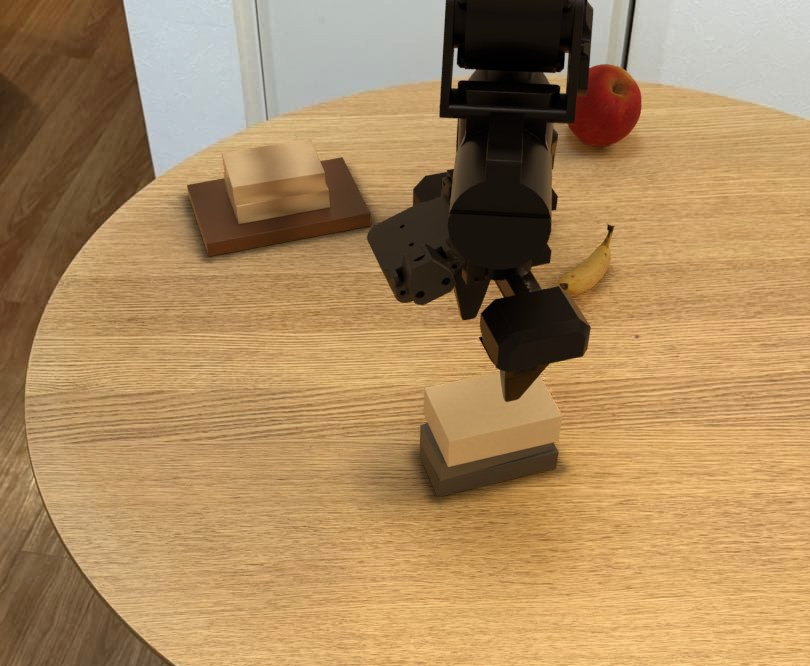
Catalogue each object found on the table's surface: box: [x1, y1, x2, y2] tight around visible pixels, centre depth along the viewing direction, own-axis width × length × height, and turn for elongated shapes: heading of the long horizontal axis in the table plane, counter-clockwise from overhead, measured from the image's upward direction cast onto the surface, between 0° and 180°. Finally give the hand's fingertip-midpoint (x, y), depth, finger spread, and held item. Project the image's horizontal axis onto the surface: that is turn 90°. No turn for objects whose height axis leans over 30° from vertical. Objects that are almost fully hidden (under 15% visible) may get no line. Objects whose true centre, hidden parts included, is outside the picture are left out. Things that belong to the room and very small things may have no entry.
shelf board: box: [186, 138, 372, 257], centre depth 112 cm, size 16×10×6 cm, turn 108°
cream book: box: [423, 370, 563, 467], centre depth 88 cm, size 9×6×3 cm, turn 108°
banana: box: [557, 223, 615, 296], centre depth 105 cm, size 10×2×4 cm, turn 149°
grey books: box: [419, 422, 559, 498], centre depth 91 cm, size 10×5×4 cm, turn 107°
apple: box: [567, 63, 642, 147], centre depth 119 cm, size 8×8×8 cm
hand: (488, 357), depth 84 cm, fingers open, 9 cm apart
